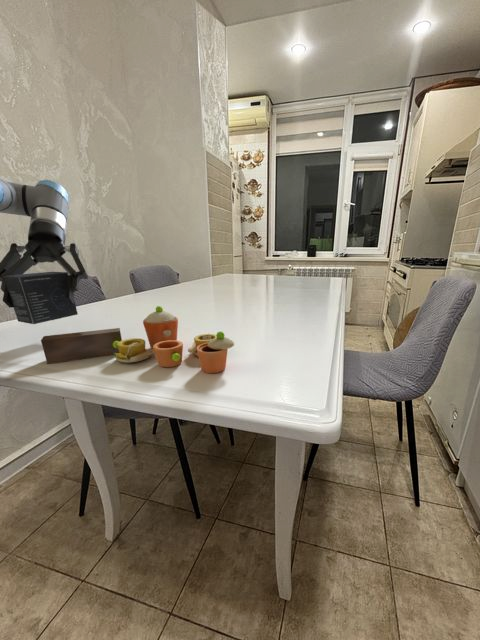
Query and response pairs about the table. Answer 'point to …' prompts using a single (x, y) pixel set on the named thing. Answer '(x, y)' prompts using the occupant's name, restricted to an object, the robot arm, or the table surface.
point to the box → (39, 296)
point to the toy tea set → (174, 344)
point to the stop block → (80, 345)
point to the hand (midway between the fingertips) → (39, 302)
